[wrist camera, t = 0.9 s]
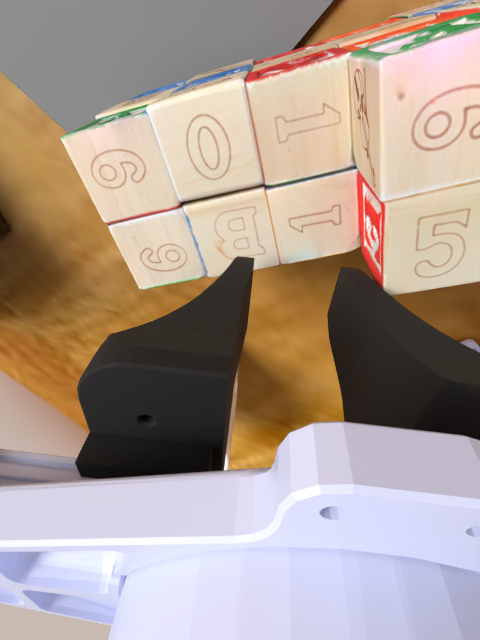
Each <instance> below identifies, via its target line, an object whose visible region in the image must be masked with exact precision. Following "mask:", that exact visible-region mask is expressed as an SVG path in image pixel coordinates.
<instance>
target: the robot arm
mask: <svg viewBox="0 0 480 640" xmlns="http://www.w3.org/2000/svg"><path fill="white" fill-rule="evenodd" d="M254 259H255V258H250V257H241V256H237V257H236V258H234V260H233V261H232V262H231V264H230V265H229V266H228V268H227V269H226V270H225V271H224V272H223V273H222V274H221V275H220V277H219V278H218V279H217V280H216V281H215V282H214V283H213V284H211V285H210V286H209V287H208V288H207V289H206V290H205V291H204V292H202V293H201V294H200V295H199V296H197V297H196V298H195V299H193V300H192V301H191V302H189V303H188V304H186V305H184V306H182V307H181V308H179V309H177V310H175V311H173V312H171V313H169V314H168V315H165V316H163V317H161V318H159V319H156V320H154V321H151V322H149V323H146V324H143V325H141V326H138V327H134V328H131V329H127V330H124V331H121V332H117V333H113V334H110V335H109V336H108V338H107V339H106V340H105V342H104V343H103V344H102V345H101V346H100V348H99V349H98V351H97V352H96V354H95V355H94V357H93V358H92V360H91V362H90V363H89V365H88V366H87V368H86V370H85V371H84V373H83V375H82V376H81V378H80V380H79V384H78V387H77V391H78V398H79V401H80V404H81V407H82V410H83V413H84V416H85V419H86V422H87V424H88V427H89V430H90V433H89V435H88V437H87V439H86V441H85V443H84V445H83V447H82V449H81V451H80V453H79V455H78V457H77V458H72V457H64V456H55V455H47V454H39V453H31V452H22V451H14V450H6V449H0V603H2V604H8V605H12V606H17V607H22V608H27V609H32V610H37V611H42V612H47V613H52V614H57V615H61V616H67V617H71V618H76V619H81V620H86V621H91V622H96V623H101V624H106V625H111V626H112V627H111V631H110V634H109V638H108V640H480V347H479V345H478V344H477V343H476V342H475V341H474V340H473V339H466V340H464V341H462V342H458V341H456V340H454V339H452V338H450V337H449V336H447V335H445V334H443V333H442V332H440V331H439V330H437V329H435V328H434V327H432V326H431V325H429V324H427V323H426V322H424V321H423V320H421V319H420V318H419V317H417V316H416V315H414V314H413V313H412V312H410V311H409V310H408V309H406V308H405V307H404V306H402V305H401V304H400V303H399V302H397V301H396V300H395V299H394V298H393V297H391V296H390V295H389V294H388V293H387V292H386V291H384V290H383V289H382V288H381V287H380V286H379V285H378V284H377V283H375V282H374V281H373V280H372V279H371V278H370V277H369V276H367V275H366V274H365V273H364V272H362V271H361V270H360V269H355V268H345V267H341V269H340V273H339V276H338V280H337V283H336V287H335V290H334V293H333V297H332V300H331V304H330V307H329V311H328V330H329V339H330V344H331V348H332V353H333V357H334V362H335V366H336V371H337V375H338V379H339V384H340V388H341V394H342V401H343V411H344V420H345V422H343V421H332V422H314V423H311V424H309V425H306V426H304V427H301V428H299V429H296V430H294V431H292V432H290V433H289V434H288V435H287V437H286V438H285V439H284V440H283V442H282V443H281V444H280V446H279V447H278V450H277V454H276V458H275V462H274V464H273V466H272V467H269V468H254V469H239V470H224V466H225V458H226V449H227V441H228V433H229V424H230V416H231V408H232V400H233V391H234V384H235V379H236V374H237V369H238V365H239V360H240V356H241V352H242V347H243V343H244V339H245V334H246V330H247V323H248V314H249V305H250V296H251V287H252V278H253V269H254ZM473 348H474V349H473Z"/></svg>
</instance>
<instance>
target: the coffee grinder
mask: <svg viewBox="0 0 480 640" xmlns="http://www.w3.org/2000/svg"><path fill="white" fill-rule="evenodd" d="M10 231H11V229H10V228H9V227H8V225H7V224H6V222H5V221H4V219H3V218H2V216H1V215H0V242H1V241H2V240H3V239H4V238H5V237H6V236H7V235H8V233H9V232H10Z"/></svg>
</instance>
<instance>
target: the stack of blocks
mask: <svg viewBox="0 0 480 640" xmlns="http://www.w3.org/2000/svg"><path fill="white" fill-rule="evenodd" d="M95 119H96V120H93V121H92V122H90V123H88V124H85V125H83V126H82V127H80V128H78V129H76V130H73V131H71V132H70V133H68V134H65V135H64V136H62V137H61V140H62V142H63V144H64V146H65V148H66V150H67V152H68V154H69V156H70V157H71V159H72V161H73V163H74V165H75V167H76V169H77V171H78V173H79V175H80V177H81V179H82V181H83V182H84V184H85V186H86V188H87V190H88V192H89V194H90V196H91V198H92V200H93V202H94V204H95V206H96V208H97V210H98V212H99V214H100V216H101V218H102V220H103V221H104V222H105V223H107V224H108V227H109V229H110V232H111V234H112V236H113V238H114V240H115V242H116V244H117V246H118V248H119V250H120V252H121V254H122V256H123V258H124V259H125V261H126V263H127V265H128V267H129V269H130V271H131V273H132V275H133V277H134V279H135V281H136V283H137V284H138V286H139V288H140V289H149V288H154V287H159V286H164V285H169V284H174V283H180V282H186V281H190V280H194V279H200V278H202V277H204V276H208V277H210V278H211V277H218V276H220V275H221V274H222V273H223V272H224V271H225V270H226V269H227V268H228V266H229V265H230V264H231V262H232V261H233V260H234V258H236V257H237V256H241V257H250V258H255V259H254V269H253V270H256V269H261V268H267V267H273V266H276V265H279V264H292V263H296V262H302V261H307V260H313V259H317V258H322V257H327V256H332V255H337V254H342V253H347V252H349V251H352V250H355V249H357V248H359V247H361V250H362V254H363V256H364V258H365V260H366V262H367V264H368V266H369V268H370V270H371V272H372V275H373V278H374V280H375V281H376V283H377V284H378V285H379V286H380V287H381V288H382V289H383V290H384V291H386V292H387V293H388V294H389V295H390V296H392V295H399V294H405V293H411V292H418V291H424V290H430V289H435V288H442V287H449V286H455V285H461V284H467V283H473V282H479V281H480V0H444V1H441V2H437V3H434V4H430V5H427V6H423V7H420V8H417V9H413V10H410V11H407V12H403V13H400V14H396V15H393V16H390V17H389V18H388V19H387V20H386V21H385V22H382V23H379V24H374V25H371V26H368V27H364V28H361V29H358V30H355V31H351V32H348V33H345V34H341V35H338V36H334V37H331V38H327V39H324V40H321V41H320V42H318V43H317V44H314V45H310V46H306V47H302V48H299V49H295V50H292V51H289V52H286V53H282V54H279V55H276V56H272V57H270V58H266V59H262V60H259V61H257V62H256V61H255V60H254V59H250V60H247V61H243V62H240V63H236V64H233V65H230V66H226V67H223V68H219V69H216V70H213V71H209V72H206V73H202V74H199V75H196V76H194V77H193V78H191V79H187V80H184V81H180V82H177V83H174V84H170V85H167V86H164V87H160V88H157V89H154V90H151V91H147V92H144V93H141V94H139V95H137V96H135V97H134V98H131V99H129V100H127V101H125V102H122V103H119V104H117V105H115V106H113V107H111V108H109V109H107V110H105V111H103V112H101V113H99V114H97V115H96V116H95Z"/></svg>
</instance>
